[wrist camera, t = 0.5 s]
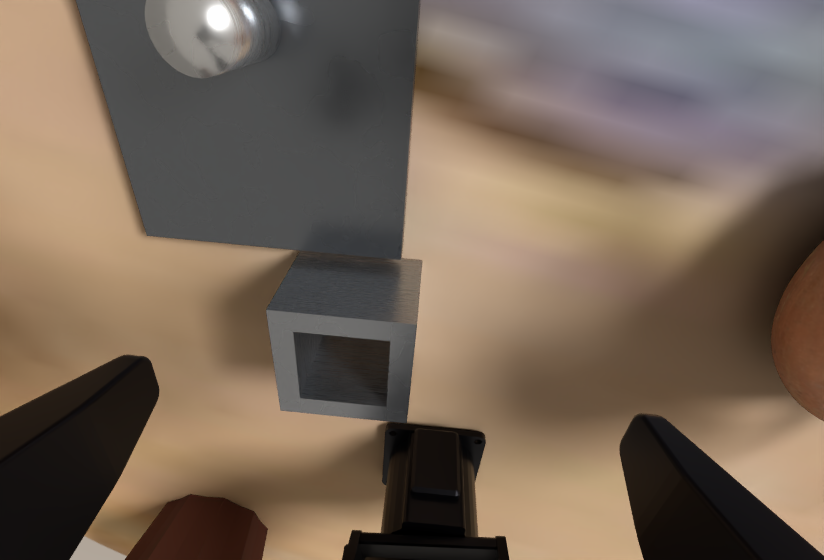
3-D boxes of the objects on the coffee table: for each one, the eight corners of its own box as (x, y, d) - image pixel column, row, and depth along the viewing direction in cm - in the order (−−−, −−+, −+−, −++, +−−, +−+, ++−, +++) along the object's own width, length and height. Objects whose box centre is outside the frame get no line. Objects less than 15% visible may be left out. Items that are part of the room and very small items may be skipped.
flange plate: (402, 249, 21) (392, 312, 16) (158, 226, 21) (87, 282, 17) (431, -151, 13) (425, -225, 9) (43, -183, 13) (-145, -272, 9)
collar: (413, 350, 24) (406, 423, 20) (308, 340, 24) (280, 410, 20) (422, 260, 21) (416, 324, 17) (301, 248, 21) (265, 310, 17)
